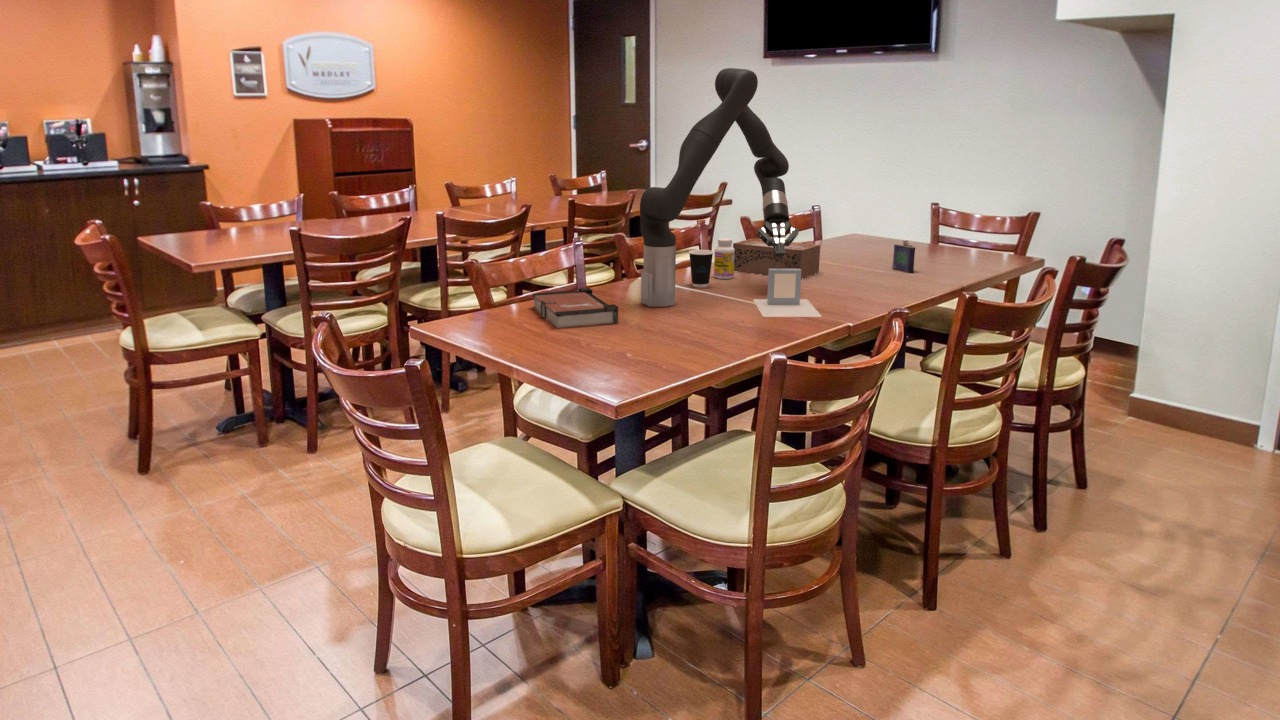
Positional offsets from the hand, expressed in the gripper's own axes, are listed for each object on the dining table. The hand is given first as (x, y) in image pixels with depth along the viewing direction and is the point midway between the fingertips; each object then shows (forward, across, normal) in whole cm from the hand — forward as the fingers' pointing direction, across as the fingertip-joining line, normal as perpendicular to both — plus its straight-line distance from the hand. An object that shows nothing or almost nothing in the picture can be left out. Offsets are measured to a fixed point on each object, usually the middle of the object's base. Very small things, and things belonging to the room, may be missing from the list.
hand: (780, 256), depth 262 cm
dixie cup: (-5, -22, +23) cm, 32 cm away
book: (+24, -60, -5) cm, 65 cm away
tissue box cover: (-21, +6, +40) cm, 46 cm away
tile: (+15, 0, +2) cm, 15 cm away
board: (+19, 0, -1) cm, 19 cm away
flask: (-23, +51, +42) cm, 69 cm away
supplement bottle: (-14, -13, +33) cm, 38 cm away
